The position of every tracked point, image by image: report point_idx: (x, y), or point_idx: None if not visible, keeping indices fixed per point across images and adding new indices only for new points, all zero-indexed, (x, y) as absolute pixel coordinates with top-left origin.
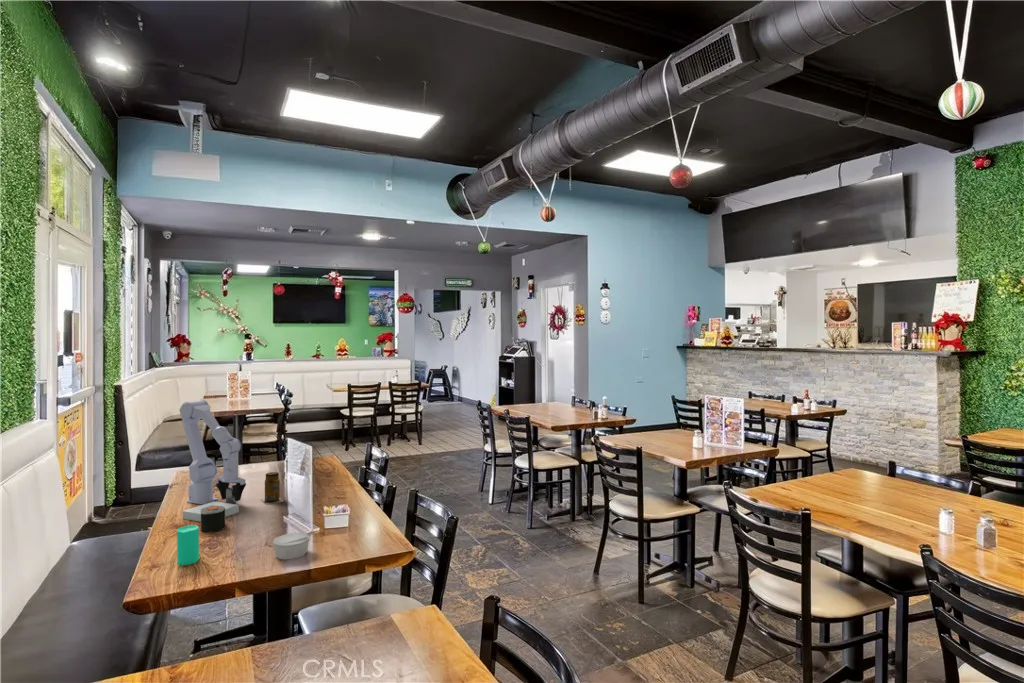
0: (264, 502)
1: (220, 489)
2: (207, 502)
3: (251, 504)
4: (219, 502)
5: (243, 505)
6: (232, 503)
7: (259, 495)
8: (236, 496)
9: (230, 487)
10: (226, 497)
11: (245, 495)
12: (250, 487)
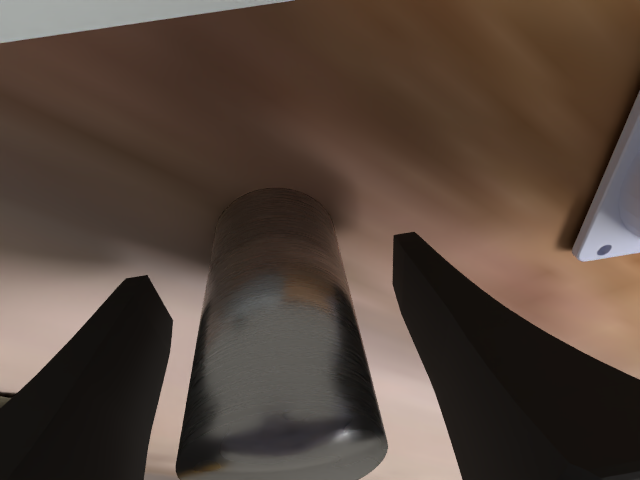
0: None
1: (490, 350)
2: (626, 124)
3: (71, 331)
4: (67, 2)
5: (97, 281)
6: (215, 242)
7: None
8: (74, 340)
9: (337, 466)
10: (283, 262)
11: (408, 395)
12: None
